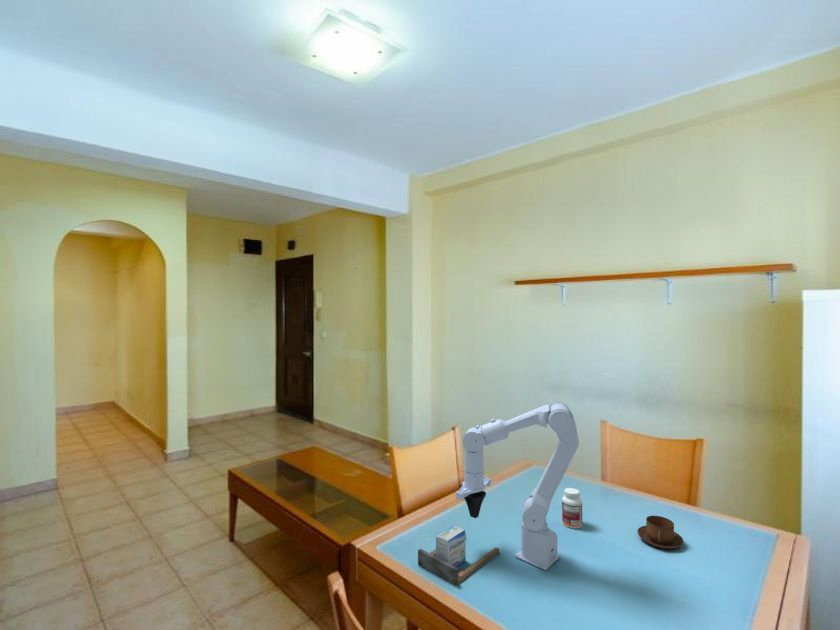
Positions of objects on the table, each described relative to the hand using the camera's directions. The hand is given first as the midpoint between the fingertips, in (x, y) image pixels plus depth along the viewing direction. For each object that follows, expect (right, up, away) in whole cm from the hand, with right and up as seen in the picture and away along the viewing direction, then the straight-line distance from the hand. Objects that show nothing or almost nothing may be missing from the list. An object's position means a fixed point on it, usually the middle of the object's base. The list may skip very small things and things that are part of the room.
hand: (474, 516), depth 126 cm
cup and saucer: (+56, -10, +4) cm, 57 cm away
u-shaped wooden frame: (-5, -10, -5) cm, 12 cm away
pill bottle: (+34, -9, +14) cm, 37 cm away
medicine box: (-7, -10, -7) cm, 14 cm away
